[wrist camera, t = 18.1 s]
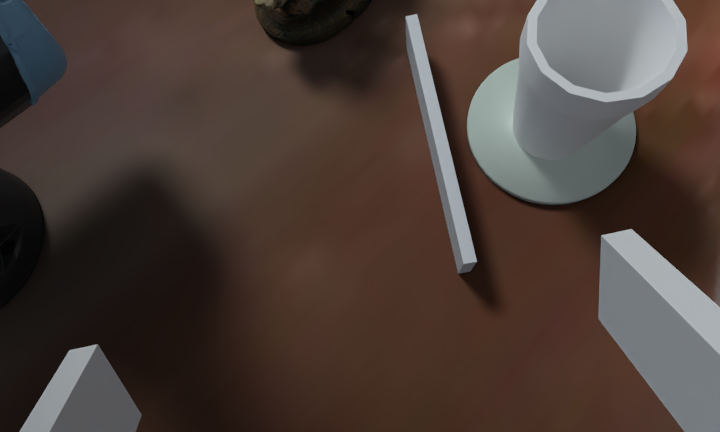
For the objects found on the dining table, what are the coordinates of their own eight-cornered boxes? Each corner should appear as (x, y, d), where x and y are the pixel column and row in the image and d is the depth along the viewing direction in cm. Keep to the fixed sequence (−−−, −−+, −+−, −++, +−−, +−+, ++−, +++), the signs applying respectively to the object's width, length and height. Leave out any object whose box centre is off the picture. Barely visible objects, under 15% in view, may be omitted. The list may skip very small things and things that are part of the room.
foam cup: (630, 124, 42) (721, 27, 30) (558, 199, 41) (621, 131, 29) (541, 58, 45) (591, -57, 32) (471, 128, 44) (494, 37, 31)
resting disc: (434, 118, 45) (434, 114, 44) (553, 31, 46) (555, 26, 45) (541, 238, 41) (543, 235, 40) (668, 139, 42) (673, 135, 42)
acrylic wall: (406, 47, 47) (405, 16, 43) (416, 45, 47) (417, 13, 43) (458, 273, 41) (463, 264, 37) (470, 271, 41) (477, 261, 37)
